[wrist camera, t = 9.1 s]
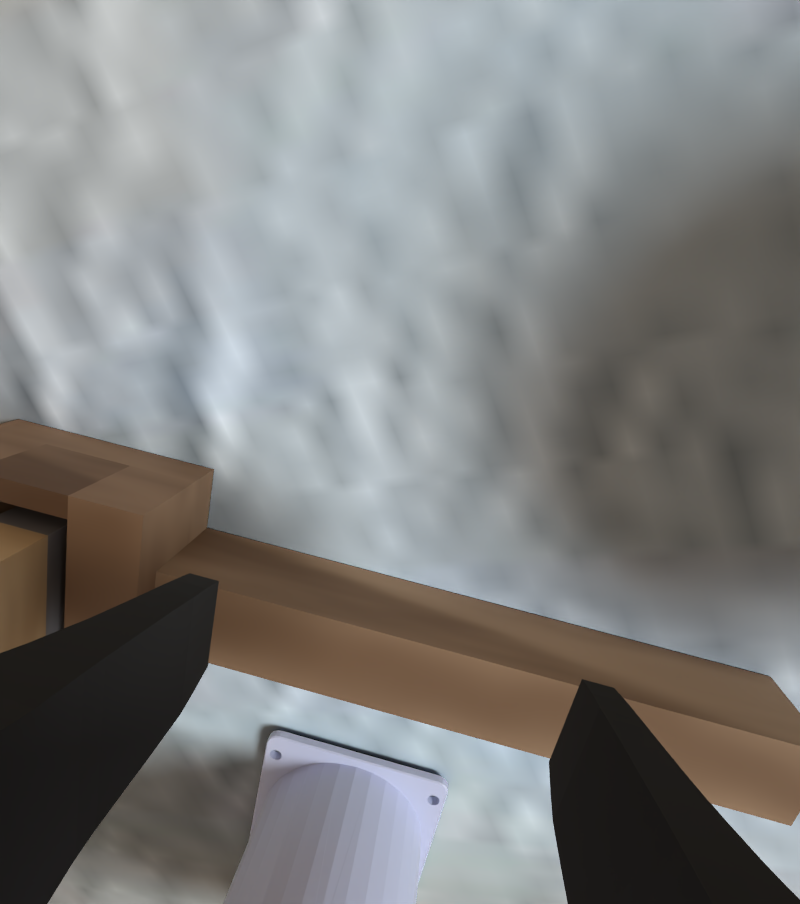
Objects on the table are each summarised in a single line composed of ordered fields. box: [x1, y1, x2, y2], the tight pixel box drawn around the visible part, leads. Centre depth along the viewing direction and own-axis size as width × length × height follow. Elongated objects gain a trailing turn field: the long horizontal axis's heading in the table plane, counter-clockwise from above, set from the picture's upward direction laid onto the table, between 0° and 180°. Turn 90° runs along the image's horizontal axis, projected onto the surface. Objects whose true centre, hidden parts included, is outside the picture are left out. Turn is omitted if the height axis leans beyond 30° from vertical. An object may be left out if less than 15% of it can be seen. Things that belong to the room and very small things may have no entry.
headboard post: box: [0, 419, 800, 826], centre depth 18 cm, size 8×30×4 cm, turn 78°
